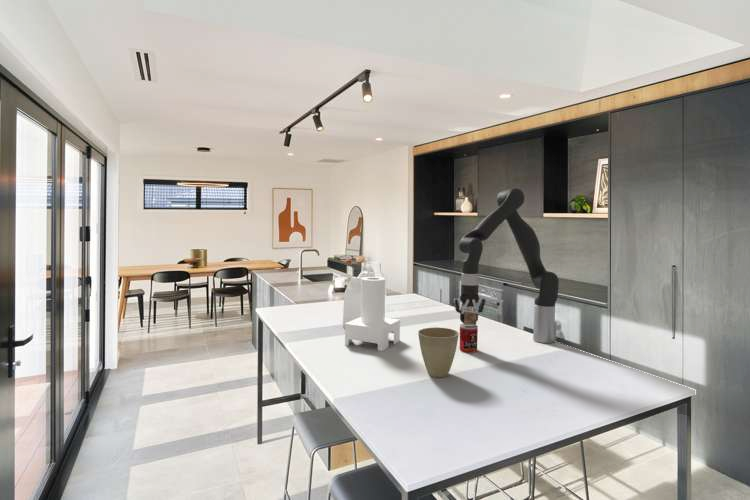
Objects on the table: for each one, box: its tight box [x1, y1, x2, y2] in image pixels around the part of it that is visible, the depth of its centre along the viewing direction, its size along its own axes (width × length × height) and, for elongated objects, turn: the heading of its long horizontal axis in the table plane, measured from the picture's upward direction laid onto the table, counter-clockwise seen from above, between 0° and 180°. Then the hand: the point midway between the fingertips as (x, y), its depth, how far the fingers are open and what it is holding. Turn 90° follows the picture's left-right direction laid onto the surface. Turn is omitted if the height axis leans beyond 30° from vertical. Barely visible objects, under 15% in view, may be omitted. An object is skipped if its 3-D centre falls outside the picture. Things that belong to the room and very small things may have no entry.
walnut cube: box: [461, 310, 477, 325], centre depth 195 cm, size 5×5×5 cm
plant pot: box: [417, 326, 460, 378], centre depth 166 cm, size 15×15×16 cm
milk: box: [342, 276, 362, 329], centre depth 237 cm, size 12×12×26 cm
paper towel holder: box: [344, 276, 401, 352], centre depth 205 cm, size 19×19×30 cm
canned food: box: [459, 323, 479, 354], centre depth 196 cm, size 8×8×11 cm
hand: (468, 321), depth 195 cm, fingers closed on walnut cube, 5 cm apart
